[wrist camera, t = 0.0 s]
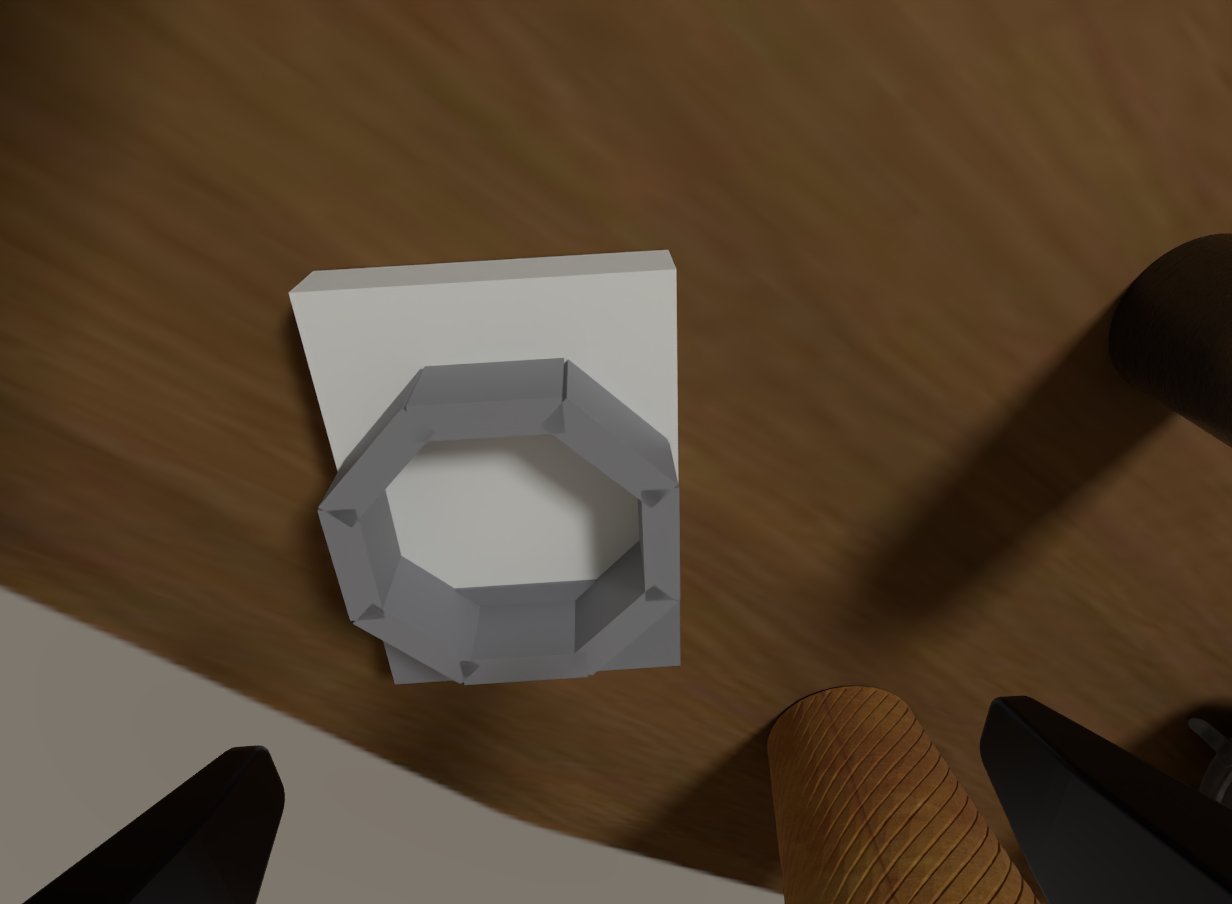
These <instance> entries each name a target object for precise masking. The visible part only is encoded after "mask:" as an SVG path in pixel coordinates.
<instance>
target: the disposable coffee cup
mask: <svg viewBox="0 0 1232 904" xmlns="http://www.w3.org/2000/svg"><path fill="white" fill-rule="evenodd" d="M767 753H768V759H769V767H770V777H771V784H772V795H773V803H774V811H775V821H776V829H777V840H778V846H779V856H780V864H781V873H782V883H783V892H784V900H785V904H1041V903H1040V902H1039V901H1038V900H1037V898H1036V897H1035V896H1034V894H1033V893H1032V890H1031V888H1030V887H1029V885H1028V884H1027V883H1026V882H1025V880H1024V879H1023V878H1022V876H1021V875H1020V873H1019V871H1018V869H1017V868H1016V866H1015V865H1014V863H1013V862H1012V860H1011V859H1010V858H1009V857H1008V854H1007V852H1006V851H1005V850H1004V848H1003V847H1002V846H1001V845H1000V843H999V842H998V841H997V838H996V836H995V835H994V833H993V832H992V831H991V829H990V828H989V827H988V826H987V824H986V822H985V820H984V819H983V817H982V816H981V815H980V813H979V812H978V811H977V809H976V807H975V805H974V804H973V802H972V801H971V800H970V798H969V797H968V796H967V794H966V792H965V790H964V788H963V787H962V786H961V785H960V783H959V782H958V781H957V779H956V777H955V775H954V774H953V773H952V771H951V770H950V769H949V767H948V765H947V763H946V762H945V761H944V759H943V758H942V757H941V755H940V754H939V752H938V750H937V749H936V747H935V746H934V745H933V743H932V742H931V740H930V738H929V737H928V735H927V734H926V732H925V731H924V730H923V728H922V726H921V725H920V723H919V722H918V721H917V719H916V718H915V716H914V714H913V712H912V711H911V709H910V708H909V707H908V705H907V704H906V703H905V702H904V701H903V700H901V699H900V698H899V697H898V696H896V695H894V694H892V693H889V692H887V691H885V690H881V689H877V688H873V687H861V686H848V687H839V688H834V689H829V690H825V691H822V692H820V693H817V694H814V695H811V696H809V697H807V698H805V699H803V700H801V701H799V702H798V703H796V704H795V705H793V706H792V707H790V708H789V709H788V710H787V711H786V712H785V713H784V714H783V715H782V716H780V717H779V718H778V720H777V721H776V723H775V724H774V726H773V727H772V729H771V732H770V735H769V738H768V741H767Z"/></svg>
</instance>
